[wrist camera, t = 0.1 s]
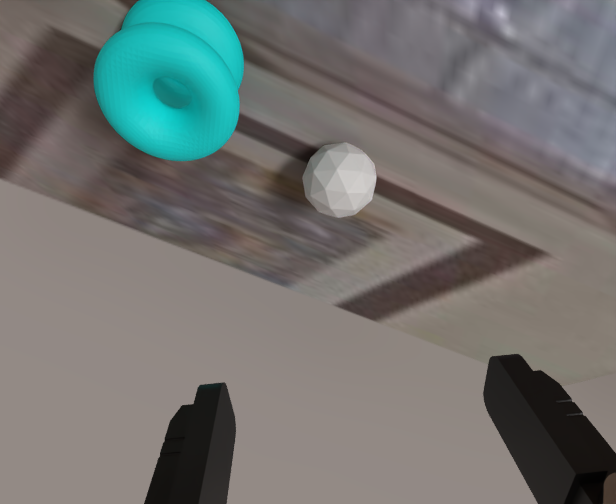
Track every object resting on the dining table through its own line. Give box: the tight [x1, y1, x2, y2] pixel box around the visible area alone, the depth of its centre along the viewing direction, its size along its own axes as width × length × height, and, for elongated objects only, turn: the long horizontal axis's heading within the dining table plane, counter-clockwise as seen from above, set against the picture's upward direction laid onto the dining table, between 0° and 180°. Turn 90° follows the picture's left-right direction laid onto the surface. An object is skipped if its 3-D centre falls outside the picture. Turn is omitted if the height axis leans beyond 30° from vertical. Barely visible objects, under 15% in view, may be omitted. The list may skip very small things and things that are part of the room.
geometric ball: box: [302, 142, 376, 218], centre depth 40 cm, size 8×8×8 cm
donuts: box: [94, 0, 244, 161], centre depth 30 cm, size 10×10×10 cm
